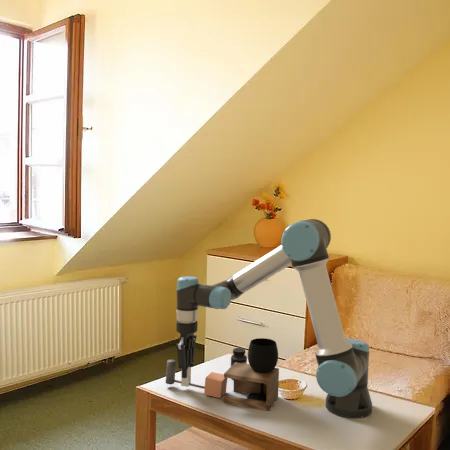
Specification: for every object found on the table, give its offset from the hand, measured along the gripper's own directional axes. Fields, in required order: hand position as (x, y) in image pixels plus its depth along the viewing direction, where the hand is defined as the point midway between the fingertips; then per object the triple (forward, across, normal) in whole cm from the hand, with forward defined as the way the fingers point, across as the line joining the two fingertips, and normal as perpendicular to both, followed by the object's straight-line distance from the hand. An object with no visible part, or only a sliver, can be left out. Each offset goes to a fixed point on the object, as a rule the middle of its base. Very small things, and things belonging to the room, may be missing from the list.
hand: (186, 385), depth 187 cm
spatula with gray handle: (+1, 0, +3) cm, 3 cm away
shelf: (+2, 0, +24) cm, 24 cm away
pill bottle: (+2, -18, +14) cm, 23 cm away
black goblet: (+2, -3, +27) cm, 28 cm away
